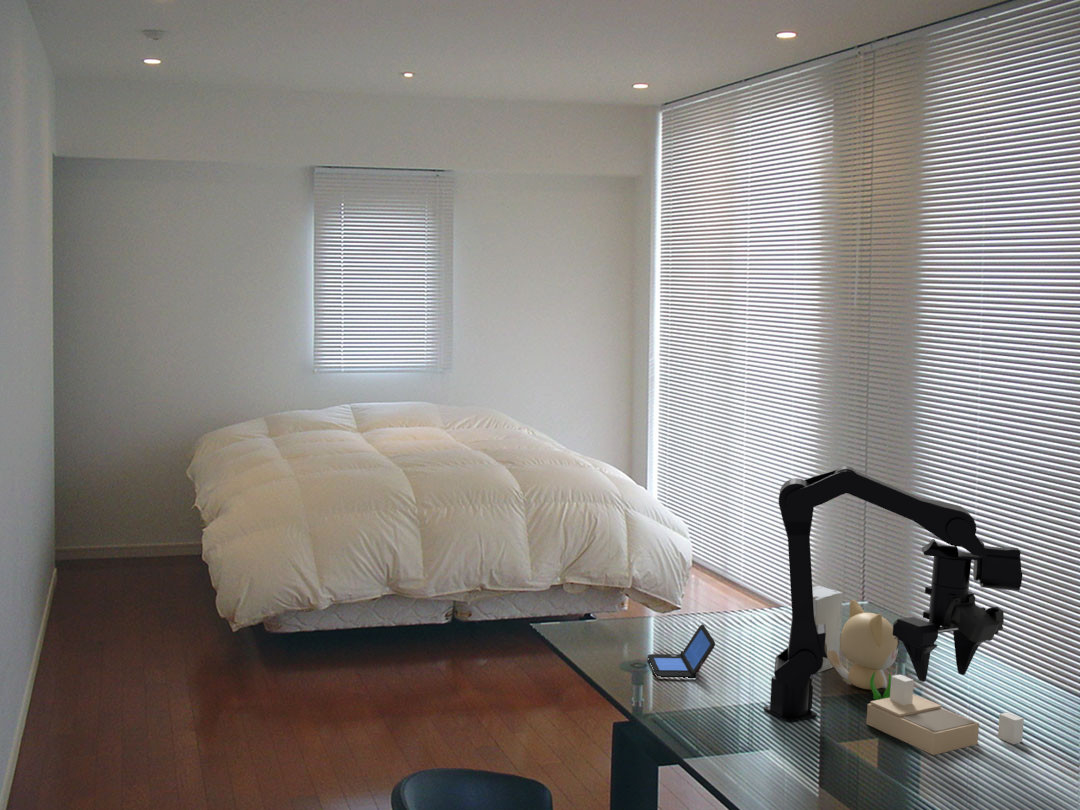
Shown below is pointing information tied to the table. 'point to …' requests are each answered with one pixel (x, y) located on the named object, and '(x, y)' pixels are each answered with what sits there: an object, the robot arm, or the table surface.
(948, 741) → the carton
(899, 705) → the flap far
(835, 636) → the skincare box
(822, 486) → the robot arm
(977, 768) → the table surface
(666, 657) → the handheld game console
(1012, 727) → the white block
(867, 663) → the kitten
